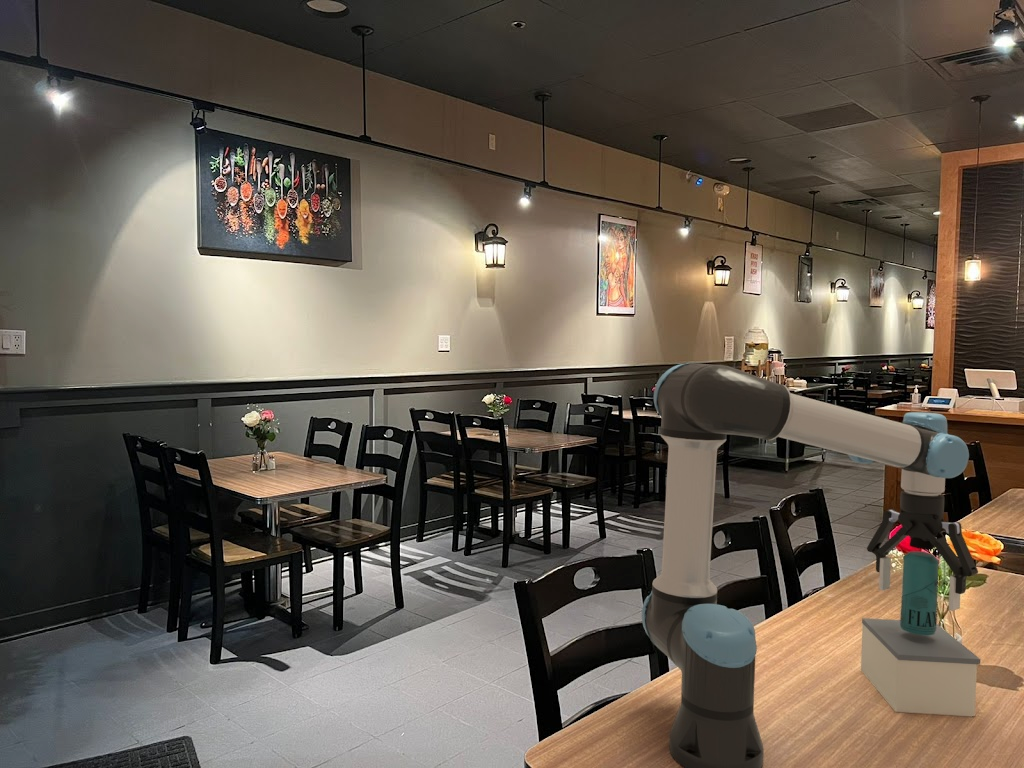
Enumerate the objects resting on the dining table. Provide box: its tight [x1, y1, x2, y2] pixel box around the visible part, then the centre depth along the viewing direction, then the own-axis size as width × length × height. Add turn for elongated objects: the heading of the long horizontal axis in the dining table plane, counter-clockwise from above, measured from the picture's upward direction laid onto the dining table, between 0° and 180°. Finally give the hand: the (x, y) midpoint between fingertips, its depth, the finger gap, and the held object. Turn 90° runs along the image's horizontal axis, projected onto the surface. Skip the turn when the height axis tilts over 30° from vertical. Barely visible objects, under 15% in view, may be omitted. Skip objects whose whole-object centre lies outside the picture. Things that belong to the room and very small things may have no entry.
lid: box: [861, 617, 981, 665], centre depth 147 cm, size 14×19×1 cm
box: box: [860, 623, 978, 717], centre depth 147 cm, size 14×18×10 cm
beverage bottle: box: [899, 537, 940, 635], centre depth 146 cm, size 6×7×20 cm
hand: (917, 599), depth 146 cm, fingers open, 13 cm apart
